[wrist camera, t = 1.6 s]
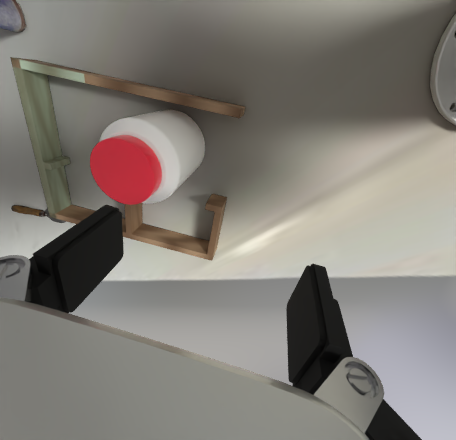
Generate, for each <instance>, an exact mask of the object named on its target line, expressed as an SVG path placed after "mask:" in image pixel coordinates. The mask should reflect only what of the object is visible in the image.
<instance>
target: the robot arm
mask: <svg viewBox="0 0 456 440" xmlns="http://www.w3.org/2000/svg"><path fill="white" fill-rule="evenodd" d="M455 31H456V14H455V15H454V16H453V18H452V19H451V21H450V23H449V25H448V26H447V28H446V30H445V32H444V33H443V35H442V37H441V39H440V42H439V44H438V47H437V49H436V52H435V54H434V59H433V63H432V68H431V77H430V88H431V93H432V98H433V101H434V103H435V105H436V107H437V109H438V111H439V112H440V113H441V114H442V116H443V117H444V118H445V119H446V120H447V121H449V122H451V123H452V124H454V125H455V126H456V37H454V34H455ZM451 105H452V107H451V108H450V106H451ZM122 257H123V229H122V213H121V212H119V209H118V208H116V207H112V206H109V205H105V206H103V207H101V208H100V209H98V210H97V211H96V212H94V213H93V214H91V215H90V216H88V217H87V218H85V219H84V220H82V221H81V222H79V223H78V224H76V225H75V226H73V227H72V228H70V229H69V230H67V231H66V232H65V233H63V234H62V235H60V236H59V237H57V238H56V239H54V240H53V241H51V242H50V243H48V244H47V245H45V246H44V247H42V248H41V249H39V250H38V251H36V252H35V253H34V254H33V257H32V258H30V259H28V258H26V257H24V256H19V255H11V256H5V257H1V258H0V440H422V439H421V438H420V437H418V435H417V434H416V433H415V432H414V431H413V430H412V429H411V428H410V427H409V426H408V425H407V424H406V423H405V422H404V420H403V419H402V418H401V417H400V416H399V415H398V414H397V413H396V412H395V411H394V410H393V409H392V408H391V407H390V406H389V405H388V404H387V403H386V401H385V400H384V399H383V396H384V390H383V385H382V383H381V381H380V379H379V377H378V376H377V374H376V373H375V371H374V370H373V369H372V368H371V367H370V366H369V365H367V364H366V363H365V362H363V361H362V360H359V359H358V358H354V357H353V355H352V351H351V348H350V344H349V340H348V337H347V333H346V329H345V326H344V322H343V318H342V315H341V311H340V307H339V304H338V302H337V300H335V299H333V295H332V291H331V288H330V283H329V279H328V275H327V271H326V268H325V267H323V266H319V265H316V264H312V265H311V266H306V268H305V270H304V272H303V274H302V276H301V278H300V280H299V282H298V284H297V286H296V288H295V290H294V292H293V293H292V295H291V297H290V299H289V301H288V304H287V341H288V372H289V381H290V382H292V383H293V386H291V385H288V384H286V383H283V382H280V381H277V380H274V379H271V378H269V377H265V376H262V375H260V374H256V373H254V372H251V371H248V370H245V369H242V368H239V367H236V366H233V365H229V364H226V363H223V362H220V361H217V360H214V359H211V358H208V357H204V356H202V355H199V354H195V353H192V352H189V351H186V350H183V349H180V348H177V347H173V346H170V345H167V344H164V343H161V342H158V341H155V340H152V339H149V338H145V337H142V336H139V335H136V334H133V333H129V332H126V331H123V330H120V329H117V328H114V327H110V326H107V325H104V324H100V323H98V322H94V321H91V320H88V319H85V318H81V317H78V316H75V315H72V314H68V313H69V312H73V311H74V310H75V309H76V308H77V307H78V306H79V305H80V304H81V303H82V302H83V301H84V299H85V298H86V297H87V296H88V295H89V294H90V293H91V292H92V291H93V290H94V288H96V286H97V285H98V284H99V283H100V282H101V281H102V280H103V279H104V278H105V277H106V276H107V274H108V273H109V272H110V271H111V270H112V269H113V268H114V267H115V266H116V265H117V264H118V262H119V261H120V260H121V259H122Z"/></svg>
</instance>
